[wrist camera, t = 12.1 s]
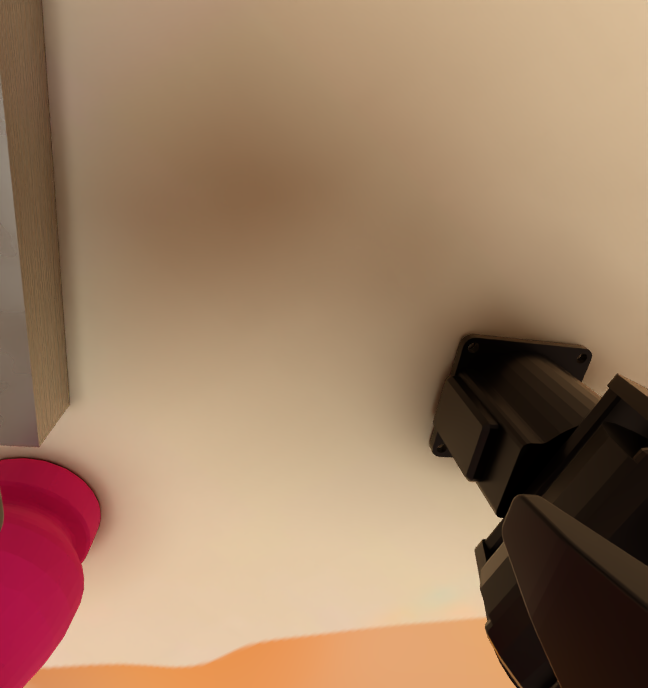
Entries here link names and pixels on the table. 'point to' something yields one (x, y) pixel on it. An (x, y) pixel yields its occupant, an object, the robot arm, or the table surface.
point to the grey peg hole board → (28, 238)
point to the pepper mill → (40, 561)
